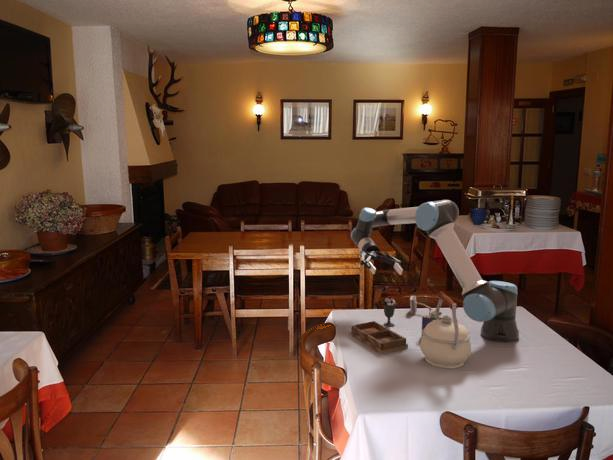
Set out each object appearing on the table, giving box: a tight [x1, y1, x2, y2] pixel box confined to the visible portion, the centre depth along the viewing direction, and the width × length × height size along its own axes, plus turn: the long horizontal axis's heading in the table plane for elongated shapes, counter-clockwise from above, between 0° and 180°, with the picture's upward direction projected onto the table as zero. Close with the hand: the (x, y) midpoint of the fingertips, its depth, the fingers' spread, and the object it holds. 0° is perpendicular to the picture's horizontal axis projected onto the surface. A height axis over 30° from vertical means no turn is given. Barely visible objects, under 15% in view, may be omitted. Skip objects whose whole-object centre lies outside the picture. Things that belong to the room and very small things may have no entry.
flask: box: [421, 312, 443, 337], centre depth 219 cm, size 9×3×11 cm, turn 87°
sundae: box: [381, 291, 398, 328], centre depth 233 cm, size 7×7×15 cm
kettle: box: [419, 291, 472, 369], centre depth 196 cm, size 25×18×25 cm
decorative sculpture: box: [409, 295, 443, 316], centre depth 246 cm, size 16×10×7 cm, turn 49°
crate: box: [349, 320, 409, 355], centre depth 216 cm, size 23×13×4 cm, turn 27°
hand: (388, 272), depth 231 cm, fingers open, 13 cm apart
